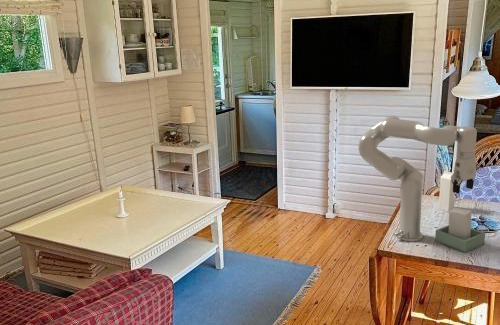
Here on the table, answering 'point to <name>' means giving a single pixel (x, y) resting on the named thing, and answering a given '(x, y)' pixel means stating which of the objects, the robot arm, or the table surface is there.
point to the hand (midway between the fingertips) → (462, 190)
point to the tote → (460, 240)
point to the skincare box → (460, 223)
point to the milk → (446, 192)
